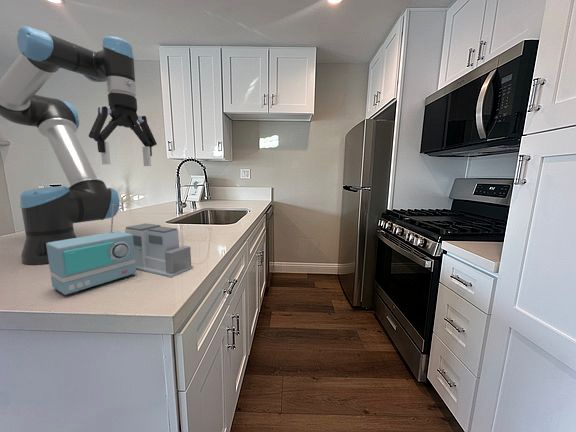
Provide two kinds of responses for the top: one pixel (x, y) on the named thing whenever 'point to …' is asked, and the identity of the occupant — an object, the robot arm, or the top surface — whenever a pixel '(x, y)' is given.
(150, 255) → the block
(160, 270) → the rail panel
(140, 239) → the block
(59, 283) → the radio
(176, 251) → the block
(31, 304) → the top surface
